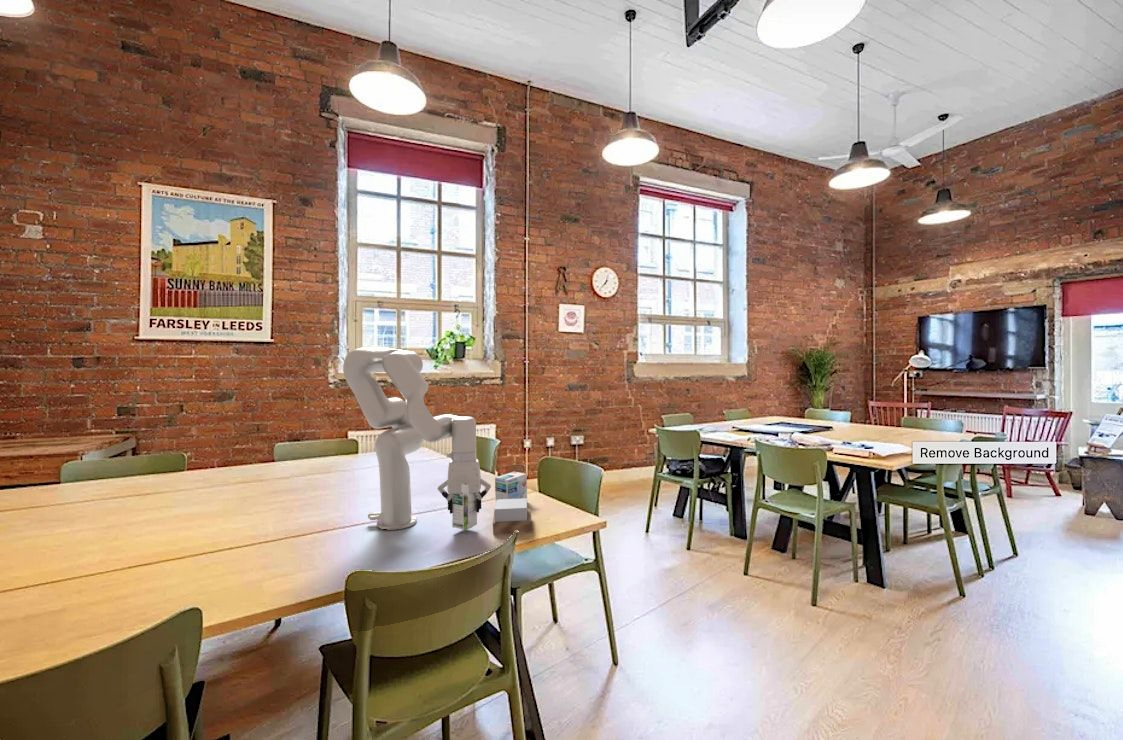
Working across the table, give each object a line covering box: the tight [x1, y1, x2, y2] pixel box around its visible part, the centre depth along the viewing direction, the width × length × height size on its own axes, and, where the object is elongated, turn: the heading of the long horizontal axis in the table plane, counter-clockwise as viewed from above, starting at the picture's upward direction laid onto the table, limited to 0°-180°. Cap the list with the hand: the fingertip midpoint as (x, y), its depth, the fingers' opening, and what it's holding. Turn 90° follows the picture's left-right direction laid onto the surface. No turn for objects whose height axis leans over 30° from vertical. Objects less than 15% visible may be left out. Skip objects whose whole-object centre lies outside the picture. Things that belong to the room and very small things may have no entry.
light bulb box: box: [494, 471, 528, 501], centre depth 182 cm, size 11×7×11 cm, turn 143°
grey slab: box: [493, 497, 528, 522], centre depth 159 cm, size 10×10×4 cm
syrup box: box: [451, 483, 478, 531], centre depth 156 cm, size 6×6×14 cm
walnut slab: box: [492, 508, 533, 535], centre depth 160 cm, size 12×12×4 cm
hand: (464, 511), depth 156 cm, fingers closed on syrup box, 7 cm apart
